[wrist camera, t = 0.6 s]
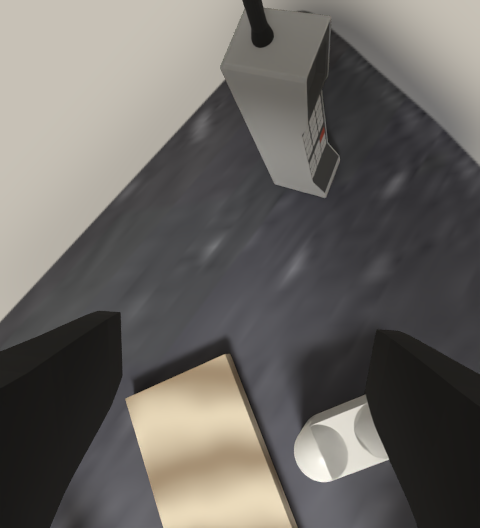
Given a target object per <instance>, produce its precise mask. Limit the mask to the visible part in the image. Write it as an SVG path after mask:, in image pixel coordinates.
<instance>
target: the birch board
mask: <svg viewBox="0 0 480 528" xmlns="http://www.w3.org/2000/svg"><path fill="white" fill-rule="evenodd" d="M126 403H127V406H128V409H129V413H130V416H131V420H132V423H133V426H134V430H135V433H136V437H137V440H138V443H139V447H140V450H141V453H142V457H143V460H144V464H145V467H146V470H147V474H148V477H149V481H150V484H151V487H152V491H153V494H154V497H155V501H156V504H157V508H158V511H159V514H160V518H161V521H162V524H163V528H298V527H297V524H296V522H295V519H294V517H293V514H292V512H291V509H290V506H289V504H288V501H287V499H286V496H285V494H284V491H283V488H282V486H281V483H280V481H279V478H278V476H277V473H276V470H275V468H274V465H273V463H272V460H271V458H270V455H269V452H268V450H267V447H266V445H265V442H264V440H263V437H262V434H261V432H260V429H259V427H258V424H257V422H256V419H255V416H254V414H253V411H252V409H251V406H250V404H249V401H248V398H247V396H246V393H245V391H244V388H243V386H242V383H241V380H240V378H239V375H238V373H237V370H236V368H235V365H234V362H233V360H232V357H231V355H230V354H224V355H222V356H219V357H217V358H215V359H213V360H211V361H208V362H206V363H204V364H202V365H199V366H197V367H195V368H193V369H191V370H188V371H186V372H184V373H182V374H179V375H177V376H175V377H173V378H170V379H168V380H166V381H164V382H162V383H159V384H157V385H155V386H153V387H150V388H148V389H146V390H144V391H142V392H139V393H137V394H135V395H133V396H130V397H128V398H126Z"/></svg>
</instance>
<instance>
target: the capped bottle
mask: <svg viewBox="0 0 480 528" xmlns="http://www.w3.org/2000/svg"><path fill="white" fill-rule="evenodd" d="M294 455H295V459H296V462H297V464H298V466H299V468H300V469H301V471H302V472H303V473H304V474H305V475H306V476H308V477H309V478H311V479H313V480H315V481H319V482H329V481H333V480H335V479H338V478H341V477H344V476H346V475H349V474H352V473H354V472H357V471H360V470H362V469H365V468H368V467H370V466H373V465H376V464H378V463H381V462H384V461H386V460H389V458H388V455H387V453H386V451H385V449H384V446H383V444H382V442H381V440H380V437H379V435H378V433H377V430H376V428H375V426H374V423H373V419H372V416H371V413H370V409H369V406H368V402H367V398H366V394H365V395H363V396H360V397H358V398H355V399H353V400H350V401H348V402H345V403H343V404H340V405H338V406H335V407H333V408H331V409H328V410H326V411H323V412H321V413H318V414H316V415H314V416H312V417H311V418H309V419H308V421H307V422H306V424H305V425H304V427H303V428H302V430H301V432H300V433H299V435H298V437H297V439H296V441H295V445H294Z"/></svg>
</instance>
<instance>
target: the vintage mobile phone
mask: <svg viewBox="0 0 480 528" xmlns="http://www.w3.org/2000/svg"><path fill="white" fill-rule="evenodd" d="M243 4H244V7H245V9H244V12H243V14H242V16H241V19H240V21H239V23H238V26H237V29H236V30H235V33H234V35H233V38H232V40H231V42H230V45H229V47H228V49H227V52H226V54H225V57H224V59H223V61H222V64H221V66H220V69H221V71H222V73H223V75H224V77H225V79H226V82H227V84H228V86H229V88H230V90H231V92H232V94H233V96H234V99H235V101H236V103H237V105H238V107H239V109H240V111H241V113H242V116H243V118H244V120H245V122H246V124H247V126H248V128H249V130H250V133H251V135H252V137H253V139H254V141H255V143H256V145H257V148H258V150H259V152H260V154H261V156H262V158H263V160H264V162H265V165H266V167H267V169H268V171H269V173H270V175H271V177H272V179H273V182H274V184H276V185H280V186H283V187H287V188H290V189H294V190H298V191H301V192H305V193H308V194H312V195H316V196H319V197H323V198H326V197H327V194H328V191H329V189H330V186H331V183H332V181H333V178H334V175H335V173H336V170H337V168H338V165H339V162H340V156H339V155H338V154H337V152H336V151H335V150H334V149H333V148H332V147H331V146H330V144H329V143H328V139H327V130H326V121H325V113H324V104H323V95H322V88H323V85H324V83H325V80H326V79H327V77H328V73H329V53H330V34H331V16H327V15H318V14H311V13H302V12H294V11H285V10H277V9H269V8H263V5H262V0H243Z"/></svg>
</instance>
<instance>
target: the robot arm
mask: <svg viewBox="0 0 480 528" xmlns="http://www.w3.org/2000/svg"><path fill="white" fill-rule="evenodd" d="M121 378H122V346H121V315H120V312H109V311H97V312H93V313H90V314H88V315H85V316H83V317H80V318H78V319H76V320H74V321H71V322H69V323H67V324H65V325H62V326H60V327H58V328H56V329H54V330H51V331H49V332H47V333H45V334H42V335H40V336H38V337H35V338H33V339H30V340H28V341H25V342H23V343H20V344H18V345H15V346H13V347H11V348H8V349H6V350H3V351H0V528H50V526H51V523H52V521H53V519H54V516H55V514H56V512H57V509H58V507H59V505H60V502H61V500H62V497H63V495H64V493H65V491H66V489H67V487H68V485H69V483H70V481H71V479H72V477H73V475H74V473H75V472H76V470H77V468H78V466H79V464H80V462H81V461H82V459H83V457H84V455H85V453H86V452H87V450H88V448H89V446H90V444H91V442H92V441H93V439H94V437H95V435H96V433H97V432H98V430H99V428H100V426H101V424H102V422H103V420H104V419H105V417H106V415H107V413H108V411H109V409H110V407H111V405H112V403H113V400H114V397H115V395H116V392H117V390H118V387H119V384H120V381H121ZM365 394H366V398H367V402H368V406H369V409H370V413H371V416H372V419H373V423H374V426H375V428H376V430H377V433H378V435H379V437H380V440H381V442H382V444H383V446H384V449H385V451H386V453H387V455H388V458H389V460H390V462H391V464H392V467H393V469H394V471H395V473H396V475H397V478H398V480H399V482H400V484H401V487H402V489H403V491H404V493H405V496H406V498H407V500H408V502H409V505H410V507H411V510H412V512H413V515H414V518H415V520H416V523H417V526H418V528H480V374H478V373H476V372H474V371H472V370H470V369H469V368H467V367H465V366H463V365H461V364H459V363H458V362H456V361H454V360H452V359H451V358H449V357H447V356H445V355H444V354H442V353H440V352H438V351H436V350H435V349H433V348H431V347H429V346H428V345H426V344H424V343H422V342H421V341H419V340H417V339H415V338H413V337H411V336H409V335H407V334H405V333H402V332H400V331H391V330H376V335H375V341H374V346H373V351H372V357H371V362H370V368H369V373H368V378H367V384H366V389H365Z"/></svg>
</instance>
